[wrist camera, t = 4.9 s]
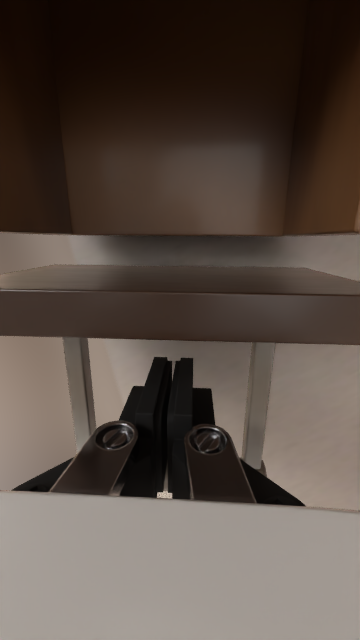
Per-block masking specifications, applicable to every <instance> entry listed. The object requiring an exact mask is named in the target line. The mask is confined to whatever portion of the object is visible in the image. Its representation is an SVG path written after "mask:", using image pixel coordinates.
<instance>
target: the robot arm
mask: <svg viewBox="0 0 360 640" xmlns="http://www.w3.org/2000/svg"><path fill="white" fill-rule="evenodd" d="M167 463H168V493H172V499H168V498H157V492H163V490H164V482H165V474H166V467H167ZM0 640H360V511H354V510H344V509H333V508H322V507H306V506H305V505H304V504H303V503H302V502H301V501H299V500H298V499H297V498H295V497H294V496H292V495H291V494H290V493H288V492H287V491H285V490H284V489H283V488H281V487H280V486H278V485H277V484H275V483H274V482H273V481H271V480H270V479H268V478H267V477H266V476H264V475H263V474H261V473H260V472H258V471H257V470H256V469H254V468H253V467H251V466H250V465H248V464H247V463H246V462H244V461H243V460H241V459H240V458H239V457H238V454H237V451H236V449H235V446H234V444H233V441H232V439H231V437H230V435H229V434H228V433H227V432H226V431H225V430H224V429H222V428H220V427H218V426H216V425H215V418H214V409H213V400H212V391H211V388H193V358H181V360H180V361H176V362H175V369H174V375H173V381H172V361H168V359H167V357H154V360H153V363H152V366H151V369H150V371H149V374H148V377H147V380H146V383H145V386H133V388H132V390H131V392H130V395H129V397H128V399H127V402H126V404H125V407H124V409H123V411H122V414H121V416H120V419H119V421H112V422H108V423H106V424H103V425H102V426H100V427H98V428H97V429H96V430H95V431H94V432H93V433H92V435H91V436H90V437H89V439H88V440H87V441H86V443H85V444H84V445H83V447H82V448H81V449H80V451H79V452H78V453H77V455H76V456H75V457H74V458H71V459H70V460H68V461H66V462H64V463H62V464H60V465H58V466H56V467H54V468H52V469H50V470H48V471H46V472H45V473H43V474H40V475H39V476H37V477H35V478H33V479H31V480H29V481H27V482H25V483H23V484H21V485H19V486H18V487H16V488H14V489H13V490H11V491H7V490H0Z"/></svg>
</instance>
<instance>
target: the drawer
mask: <svg viewBox="0 0 360 640" xmlns="http://www.w3.org/2000/svg"><path fill="white" fill-rule="evenodd" d="M0 233H20V234H49V235H124V236H271V237H299V236H328V235H357V234H360V0H0ZM0 336H33V337H63V345H64V353H65V361H66V368H67V377H68V385H69V393H70V401H71V408H72V416H73V424H74V432H75V440H76V448H77V453H78V452H79V451H80V449H81V448H82V447H83V445H84V444H85V443H86V441H87V440H88V439H89V437H90V436H91V435H92V433H93V432H94V431H95V430H96V421H95V411H94V400H93V391H92V380H91V370H90V359H89V349H88V339H87V338H108V339H146V340H185V341H223V342H252V346H251V357H250V368H249V379H248V391H247V402H246V413H245V424H244V435H243V446H242V458H240V457H239V458H240V459H241V460H243V461H244V462H246V463H247V464H248V465H250V466H251V467H253V468H254V469H256V470H257V471H258V472H260V473H261V474H263V475H264V476H266V477H267V474H266V468H265V465H264V462H263V460H262V453H263V444H264V436H265V427H266V419H267V410H268V401H269V393H270V384H271V376H272V367H273V359H274V350H275V343H300V344H338V345H360V282H359V281H355V280H351V279H347V278H343V277H339V276H335V275H331V274H327V273H323V272H319V271H315V270H311V269H308V268H287V267H207V266H126V265H50V266H44V267H38V268H33V269H27V270H21V271H16V272H10V273H4V274H0ZM76 455H77V454H76ZM163 491H168V463H167V467H166V474H165V482H164V490H163Z"/></svg>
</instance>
